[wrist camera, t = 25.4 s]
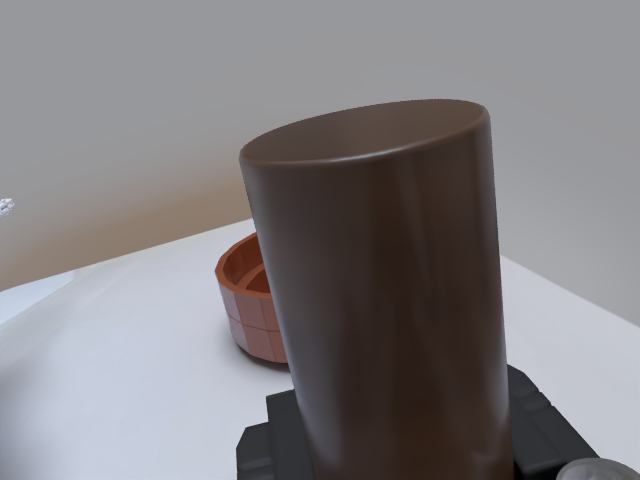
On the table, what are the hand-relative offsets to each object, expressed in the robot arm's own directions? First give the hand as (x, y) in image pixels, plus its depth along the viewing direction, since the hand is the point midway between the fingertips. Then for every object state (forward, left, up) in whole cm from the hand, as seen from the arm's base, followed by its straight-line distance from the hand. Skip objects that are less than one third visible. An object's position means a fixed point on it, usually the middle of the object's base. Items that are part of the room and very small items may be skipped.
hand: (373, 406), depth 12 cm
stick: (0, +3, -10) cm, 10 cm away
